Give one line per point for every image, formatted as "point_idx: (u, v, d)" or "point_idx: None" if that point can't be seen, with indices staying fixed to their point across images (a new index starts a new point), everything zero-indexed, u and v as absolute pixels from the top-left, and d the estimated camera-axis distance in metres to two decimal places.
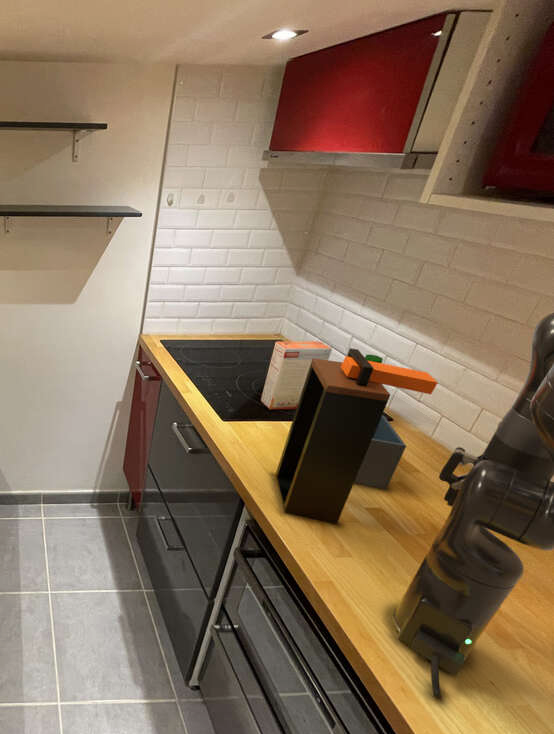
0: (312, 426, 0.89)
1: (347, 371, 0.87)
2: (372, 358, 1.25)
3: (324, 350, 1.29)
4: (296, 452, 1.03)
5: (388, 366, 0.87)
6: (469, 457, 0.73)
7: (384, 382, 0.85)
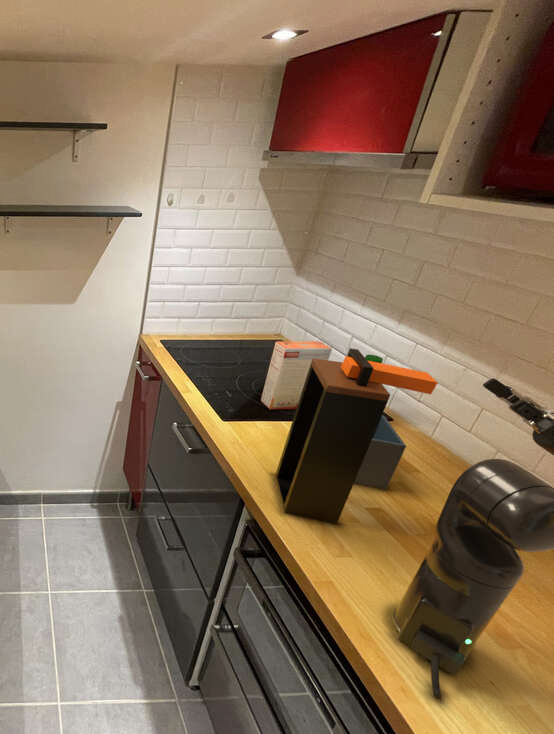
0: (312, 426, 0.89)
1: (347, 371, 0.87)
2: (372, 358, 1.25)
3: (324, 350, 1.29)
4: (296, 452, 1.03)
5: (388, 366, 0.87)
6: None
7: (384, 382, 0.85)
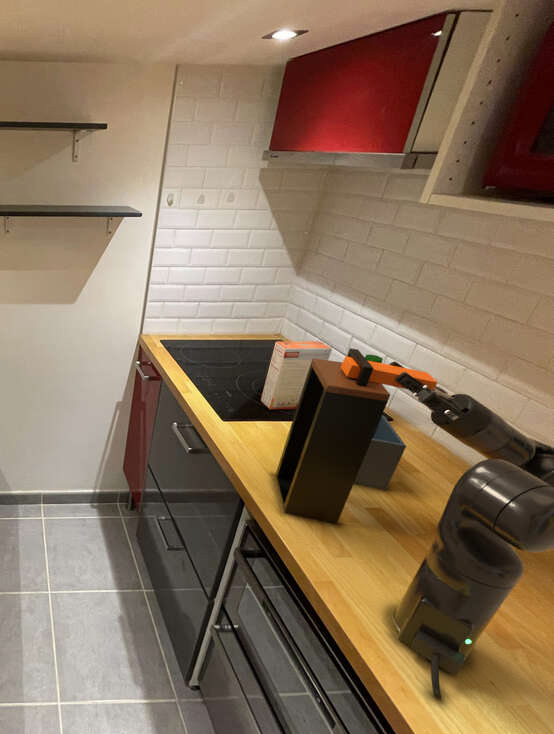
0: (312, 426, 0.89)
1: (346, 371, 0.87)
2: (372, 358, 1.25)
3: (324, 350, 1.29)
4: (296, 452, 1.03)
5: (388, 366, 0.87)
6: None
7: (384, 382, 0.85)
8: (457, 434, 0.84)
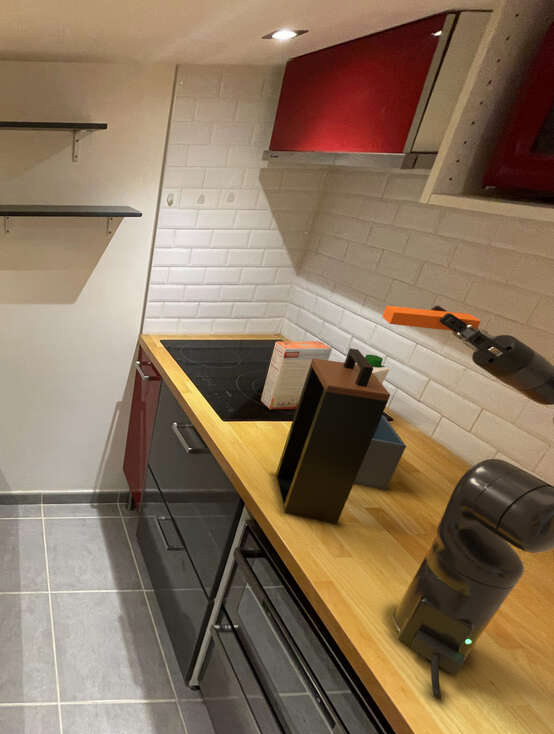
0: (312, 426, 0.89)
1: (389, 319, 0.91)
2: (372, 358, 1.25)
3: (324, 350, 1.29)
4: (296, 452, 1.03)
5: (429, 311, 0.91)
6: None
7: (427, 326, 0.89)
8: (499, 373, 0.88)
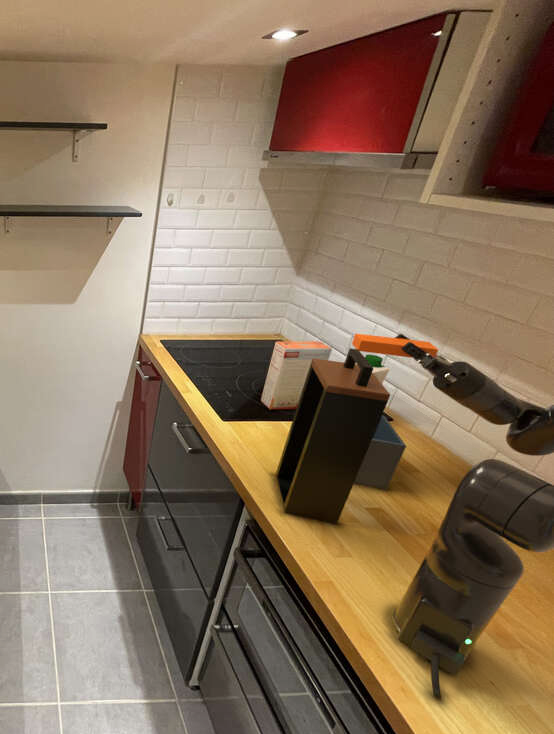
0: (312, 426, 0.89)
1: (357, 346, 1.00)
2: (372, 358, 1.25)
3: (324, 350, 1.29)
4: (296, 452, 1.03)
5: (394, 339, 1.00)
6: None
7: (391, 353, 0.98)
8: (456, 396, 0.96)
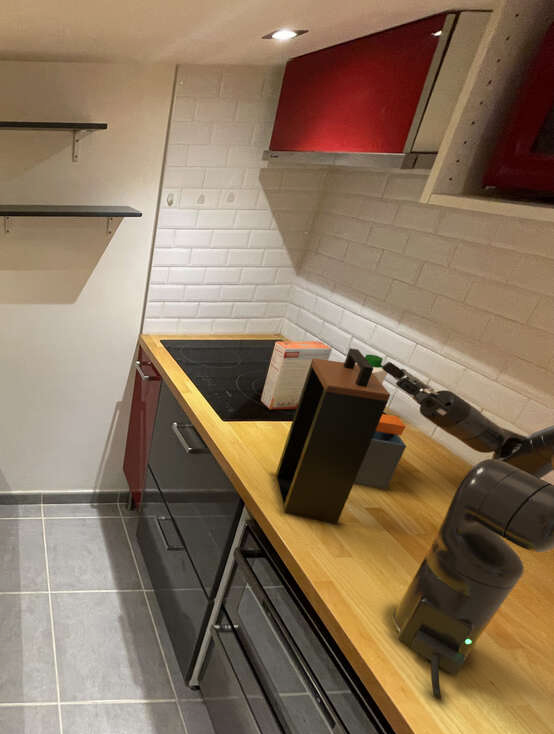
0: (312, 426, 0.89)
1: None
2: (372, 358, 1.25)
3: (324, 350, 1.29)
4: (296, 452, 1.03)
5: None
6: None
7: None
8: (441, 424, 1.00)
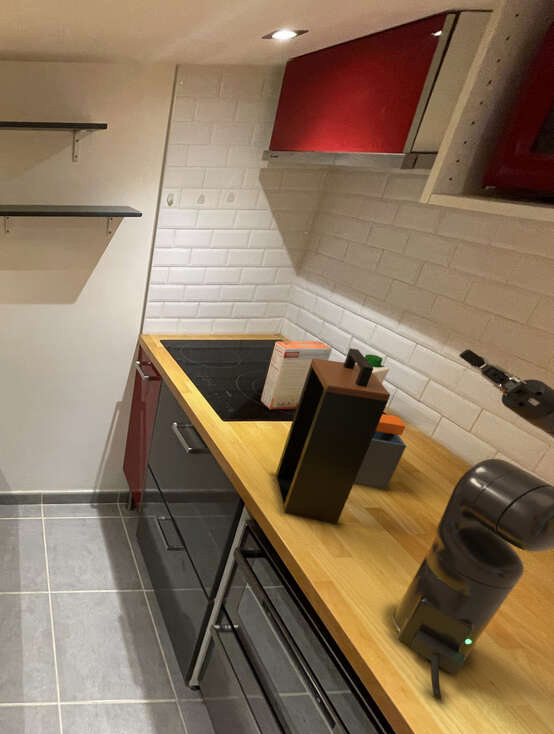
0: (312, 426, 0.89)
1: None
2: (372, 358, 1.25)
3: (324, 350, 1.29)
4: (296, 452, 1.03)
5: None
6: None
7: None
8: (529, 416, 0.92)
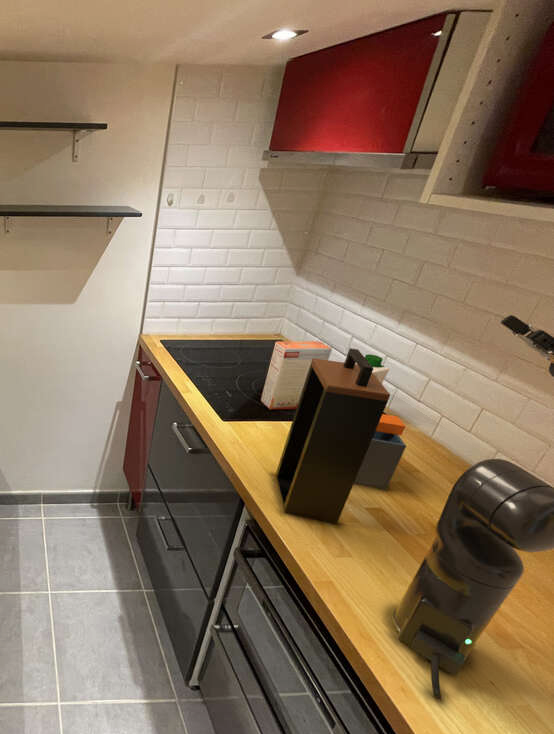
0: (312, 426, 0.89)
1: None
2: (372, 358, 1.25)
3: (324, 350, 1.29)
4: (296, 452, 1.03)
5: None
6: None
7: None
8: None
